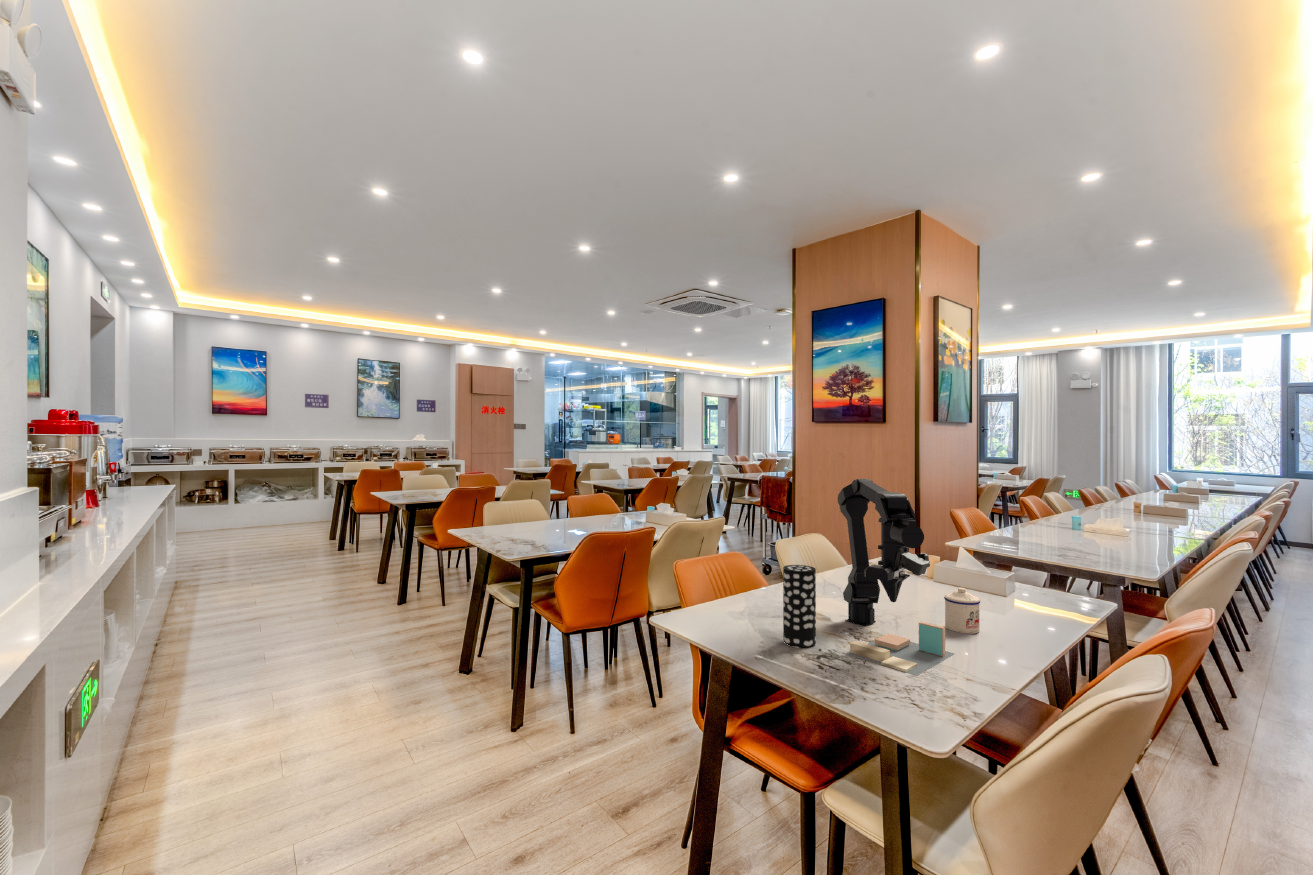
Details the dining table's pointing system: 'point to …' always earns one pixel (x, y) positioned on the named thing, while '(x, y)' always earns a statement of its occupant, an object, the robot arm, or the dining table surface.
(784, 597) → the spotted tube
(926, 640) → the tile right
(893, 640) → the tile left
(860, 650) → the cream stepped block
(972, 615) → the teacup with lid
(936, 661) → the mat
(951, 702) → the dining table surface
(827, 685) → the dining table surface
